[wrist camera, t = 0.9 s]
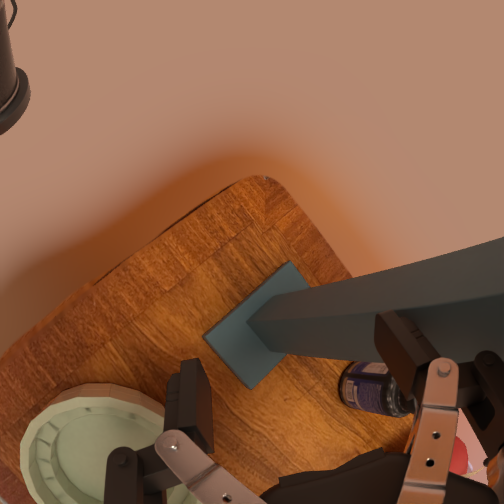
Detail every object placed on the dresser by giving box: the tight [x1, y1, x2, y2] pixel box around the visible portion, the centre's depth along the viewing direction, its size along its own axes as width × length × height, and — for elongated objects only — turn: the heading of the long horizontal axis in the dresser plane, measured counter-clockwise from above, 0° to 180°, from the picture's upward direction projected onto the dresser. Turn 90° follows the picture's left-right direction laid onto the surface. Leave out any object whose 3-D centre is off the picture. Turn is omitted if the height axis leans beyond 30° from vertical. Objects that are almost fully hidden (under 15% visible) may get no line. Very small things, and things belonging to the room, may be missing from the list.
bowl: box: [20, 383, 202, 504], centre depth 19 cm, size 16×16×6 cm
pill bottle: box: [340, 361, 417, 418], centre depth 29 cm, size 6×6×11 cm
